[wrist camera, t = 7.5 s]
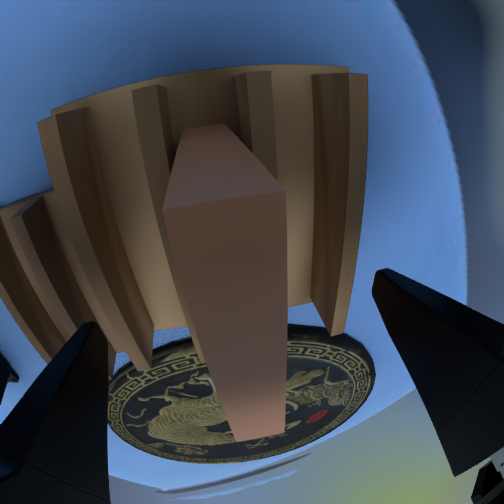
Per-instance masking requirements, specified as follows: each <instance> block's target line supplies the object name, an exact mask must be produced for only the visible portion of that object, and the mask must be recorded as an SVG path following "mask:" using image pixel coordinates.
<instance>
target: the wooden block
mask: <svg viewBox="0 0 504 504" xmlns="http://www.w3.org/2000/svg"><path fill="white" fill-rule="evenodd" d="M162 211H163V216H164V220H165V224H166V228H167V232H168V237H169V241H170V244H171V248H172V252H173V256H174V260H175V264H176V267H177V271H178V275H179V278H180V282H181V285H182V289H183V292H184V296H185V299H186V302H187V306H188V309H189V312H190V316H191V319H192V322H193V325H194V328H195V331H196V335H197V338H198V341H199V344H200V347H201V350H202V353H203V356H204V358H205V361H206V364H207V367H208V370H209V373H210V376H211V378H212V381H213V384H214V387H215V389H216V392H217V395H218V397H219V400H220V403H221V405H222V408H223V410H224V413H225V415H226V418H227V420H228V423H229V425H230V428H231V430H232V433H233V435H234V438H235V440H236V442H240V441H246V440H251V439H257V438H262V437H267V436H271V435H276V434H280V433H284V431H285V407H286V377H287V316H288V274H287V213H286V190H285V189H284V188H283V187H282V186H281V184H280V183H279V182H278V181H277V180H276V179H275V178H274V176H273V175H272V174H271V173H270V172H269V171H268V170H267V169H266V168H265V166H264V165H263V164H262V163H261V162H260V161H259V160H258V159H257V158H256V157H255V155H254V154H253V153H252V152H251V151H250V150H249V149H248V148H247V147H246V146H245V145H244V144H243V143H242V141H241V140H240V139H239V138H238V137H237V136H236V135H235V134H234V133H233V132H232V131H231V130H230V129H229V128H228V127H227V126H226V125H225V124H224V123H223V124H215V125H208V126H201V127H195V128H189V129H183V132H182V135H181V139H180V142H179V145H178V149H177V153H176V156H175V160H174V164H173V167H172V171H171V175H170V179H169V183H168V187H167V191H166V195H165V200H164V204H163V209H162Z"/></svg>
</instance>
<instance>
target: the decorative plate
mask: <svg viewBox="0 0 504 504" xmlns="http://www.w3.org/2000/svg"><path fill="white" fill-rule="evenodd" d="M375 377H376V373H375V367H374V362H373V359H372V357H371V356H370V354H369V353H368V352H367V350H366V349H365V347H364V346H363V345H362V344H361V343H360V342H358V341H356V340H355V339H353V338H351V337H350V336H348V335H347V334H344V333H342V334H338V335H335V336H330V334H329V332H328V330H327V329H326V328H323V327H314V326H303V325H293V324H287V377H286V407H285V431H284V433H280V434H276V435H271V436H267V437H262V438H257V439H251V440H246V441H240V442H236V440H235V438H234V435H233V433H232V430H231V428H230V425H229V423H228V420H227V418H226V415H225V413H224V410H223V408H222V405H221V403H220V400H219V397H218V395H217V392H216V389H215V387H214V384H213V381H212V378H211V376H210V373H209V370H208V367H207V364H206V363H203V364H201V362H200V360H199V357H198V354H197V351H196V349H195V346H194V343H193V340H192V337H189V338H185V339H181V340H177V341H173V342H170V343H168V344H165V345H163V346H161V347H158V348H156V349H153V350H152V367H151V370H146V371H138V370H137V369H136V367H135V366H134V364H133V362H132V361H130V362H129V363H127V364H126V365H124V366H123V367H121V368H120V369H119V370H118V371H117V372H116V373H115V374H114V376H113V379H112V380H109V395H108V421H107V422H108V424H109V426H110V427H111V429H112V431H114V432H115V433H116V434H117V435H118V436H119V437H120V438H121V439H122V440H124V441H125V442H127V443H128V444H130V445H132V446H133V447H135V448H137V449H139V450H142V451H144V452H146V453H149V454H151V455H155V456H158V457H162V458H165V459H170V460H175V461H181V462H188V463H200V464H225V463H238V462H246V461H252V460H258V459H263V458H267V457H271V456H275V455H279V454H282V453H285V452H288V451H291V450H294V449H297V448H299V447H302V446H304V445H306V444H309V443H311V442H313V441H315V440H317V439H319V438H321V437H323V436H324V435H326V434H328V433H330V432H331V431H333V430H334V429H336V428H337V427H339V426H340V425H342V424H343V423H344V422H346V421H347V420H348V419H349V418H350V417H351V416H352V415H354V414H355V413H356V412H357V411H358V410H359V408H360V407H361V406H362V405H363V404H364V403H365V401H366V400H367V398H368V396H369V395H370V393H371V391H372V389H373V386H374V381H375Z"/></svg>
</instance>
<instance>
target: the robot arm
mask: <svg viewBox="0 0 504 504" xmlns="http://www.w3.org/2000/svg"><path fill="white" fill-rule="evenodd" d="M372 296H373V298H374V301H375V303H376V305H377V307H378V310H379V312H380V315H381V317H382V319H383V322H384V324H385V326H386V329H387V331H388V333H389V335H390V337H391V339H392V341H393V343H394V345H395V347H396V348H397V350H398V352H399V354H400V356H401V358H402V360H403V362H404V364H405V366H406V368H407V370H408V372H409V374H410V376H411V378H412V380H413V382H414V384H415V386H416V388H417V390H418V392H419V394H420V396H421V398H422V401H423V403H424V405H425V407H426V409H427V412H428V414H429V416H430V418H431V421H432V423H433V425H434V427H435V430H436V432H437V435H438V437H439V440H440V442H441V445H442V447H443V449H444V452H445V455H446V457H447V459H448V462H449V464H450V467H451V470H452V473H453V475H454V476H455V477H456V476H458V475H459V474H461V473H463V472H465V471H467V470H468V469H470V468H472V467H473V466H475V465H477V464H478V463H480V462H482V461H483V460H485V459H487V458H488V457H490V458H491V460H490V461H489V462H488V463H487V464H485V465H484V466H483V467H482V468H481V469H480V470H479V472H478V476H477V479H476V483H475V486H474V490H473V493H472V496H471V499H472V502H473V504H504V324H502V323H500V322H498V321H495V320H493V319H491V318H489V317H487V316H485V315H483V314H481V313H479V312H477V311H476V310H473V309H471V308H469V307H468V306H466V305H464V304H462V303H460V302H458V301H456V300H454V299H452V298H450V297H448V296H446V295H444V294H441V293H439V292H437V291H435V290H433V289H431V288H429V287H427V286H425V285H423V284H421V283H419V282H417V281H414V280H412V279H410V278H408V277H406V276H404V275H402V274H400V273H397V272H395V271H393V270H391V269H389V268H385V269H381V270H378V271H377V272H376V273H375V277H374V282H373V287H372ZM18 381H19V377H18V376H17V375H16V374H15V373H14V372H13V371H12V369H11V368H10V367H9V366H8V365H7V364H6V362H5V361H4V360H3V359H2V358H1V356H0V405H1V402H2V399H3V395H4V392H5V389H6V386H7V382H18ZM108 395H109V373H108V341H107V338H106V337H105V335H104V333H103V331H102V330H101V328H100V326H99V324H98V323H97V322H96V321H88V322H84V323H83V324H82V325H81V326H80V327H79V328H78V330H77V331H76V332H75V333H74V334H73V335H72V336H71V338H70V339H69V340H68V341H67V342H66V343H65V344H64V346H63V347H62V348H61V349H60V350H59V352H58V353H57V354H56V355H55V356H54V358H53V359H52V360H51V361H50V362H49V364H48V365H47V366H46V367H45V368H44V370H43V371H42V372H41V373H40V375H39V376H38V377H37V378H36V380H35V381H34V382H33V384H32V385H31V386H30V387H29V389H28V390H27V391H26V393H25V394H24V395H23V397H22V398H21V399H20V400H19V402H18V403H17V404H16V406H15V407H14V408H13V410H12V411H11V412H10V414H9V415H8V416H7V417H6V419H5V420H4V421H3V422H2V424H0V504H111V502H110V493H109V479H108V478H109V477H108V452H107V421H108Z"/></svg>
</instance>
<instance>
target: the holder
mask: <svg viewBox="0 0 504 504" xmlns="http://www.w3.org/2000/svg"><path fill="white" fill-rule="evenodd" d="M0 297H1V299H2V301H3V302H4V304H5V306H6V307H7V309H8V310H9V312H10V314H11V315H12V317H13V318H14V320H15V321H16V323H17V324H18V326H19V327H20V329H21V330H22V331H23V333H24V334H25V336H26V337H27V338H28V340H29V341H30V343H31V344H32V345H33V347H34V348H35V349H36V350H37V352H38V353H39V354H40V356H41V357H42V358H43V359H44V361H45V362H46V363H47V364H49V362H50V361H51V360H52V359H53V358H54V356H55V355H56V354H57V353H58V352H59V350H60V349H61V348H62V347H63V346H64V344H65V343H66V342H67V341H68V340H69V339H70V338H71V336H72V335H73V334H74V333H75V332H76V331H77V330H78V328H79V327H80V326H81V325H82V324H83V323H84V322H88V321H96V322H97V323H98V324H99V326H100V328H101V330H102V331H103V333H104V335H105V337H106V338H107V341H108V373H109V380H112V379H113V371H114V364H115V358H116V353H119V352H126V351H125V349H124V348H123V346H122V344H121V343H120V341H119V339H118V337H117V336H116V334H115V332H114V330H113V328H112V327H111V325H110V323H109V321H108V319H107V317H106V315H105V314H104V312H103V310H102V308H101V306H100V304H99V302H98V300H97V298H96V296H95V294H94V292H93V289H92V287H91V285H90V283H89V281H88V279H87V277H86V274H85V272H84V270H83V268H82V265H81V263H80V261H79V258H78V256H77V253H76V251H75V249H74V246H73V244H72V241H71V238H70V236H69V233H68V231H67V228H66V225H65V222H64V220H63V217H62V214H61V211H60V208H59V205H58V202H57V199H56V195H55V192H54V189H50V190H47V191H44V192H41V193H38V194H35V195H32V196H29V197H27V198H24V199H21V200H19V201H16V202H13V203H11V204H8V205H6V206H3V207H1V208H0Z"/></svg>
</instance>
